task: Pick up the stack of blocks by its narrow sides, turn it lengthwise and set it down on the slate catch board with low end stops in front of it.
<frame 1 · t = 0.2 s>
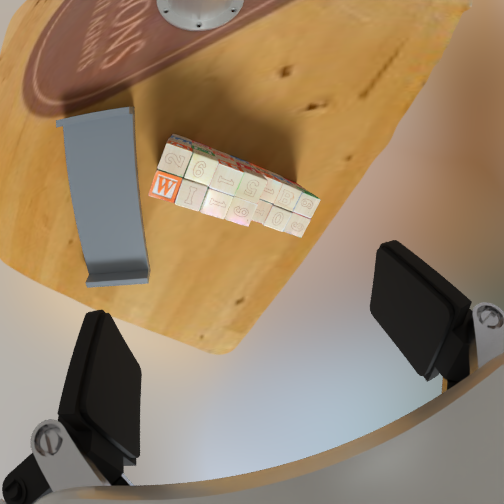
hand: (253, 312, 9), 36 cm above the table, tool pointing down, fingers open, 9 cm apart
catch board: (106, 198, 40), on the table
stack of blocks: (230, 175, 43), on the table
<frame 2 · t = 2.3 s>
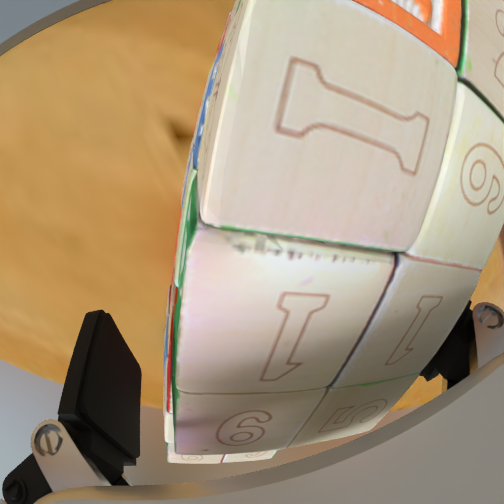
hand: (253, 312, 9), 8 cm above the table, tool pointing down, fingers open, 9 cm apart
stack of blocks: (232, 221, 16), on the table
when the fingers open (8 cm above the table, at t = 11.9 s): stack of blocks drops 1 cm, resting on catch board.
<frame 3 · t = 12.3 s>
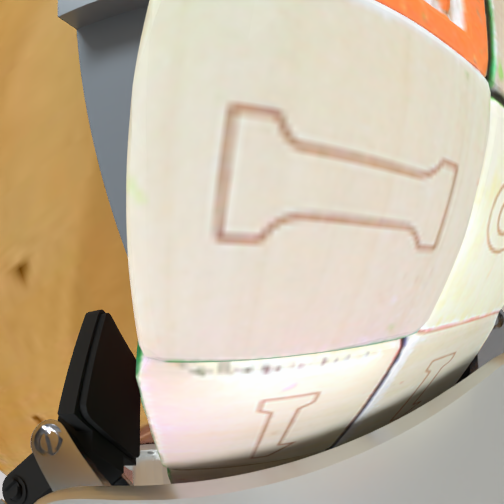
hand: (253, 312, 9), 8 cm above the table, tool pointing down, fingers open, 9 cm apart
catch board: (221, 220, 16), on the table
stack of blocks: (225, 239, 16), point 1 cm above the table, touching catch board
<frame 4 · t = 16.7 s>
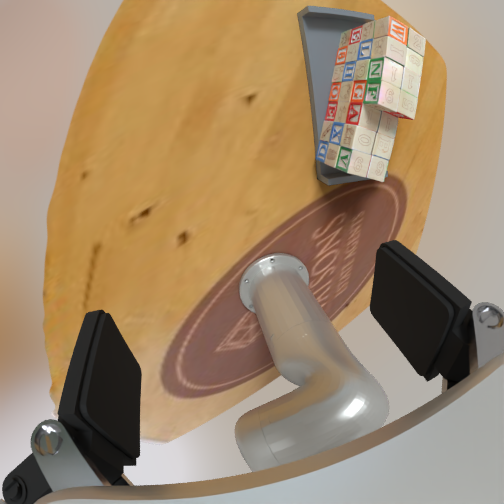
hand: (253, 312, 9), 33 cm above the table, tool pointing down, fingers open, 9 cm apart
catch board: (341, 93, 37), on the table
stack of blocks: (346, 98, 37), point 1 cm above the table, touching catch board
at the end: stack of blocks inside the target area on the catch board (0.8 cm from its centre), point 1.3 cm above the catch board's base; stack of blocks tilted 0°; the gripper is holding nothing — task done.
